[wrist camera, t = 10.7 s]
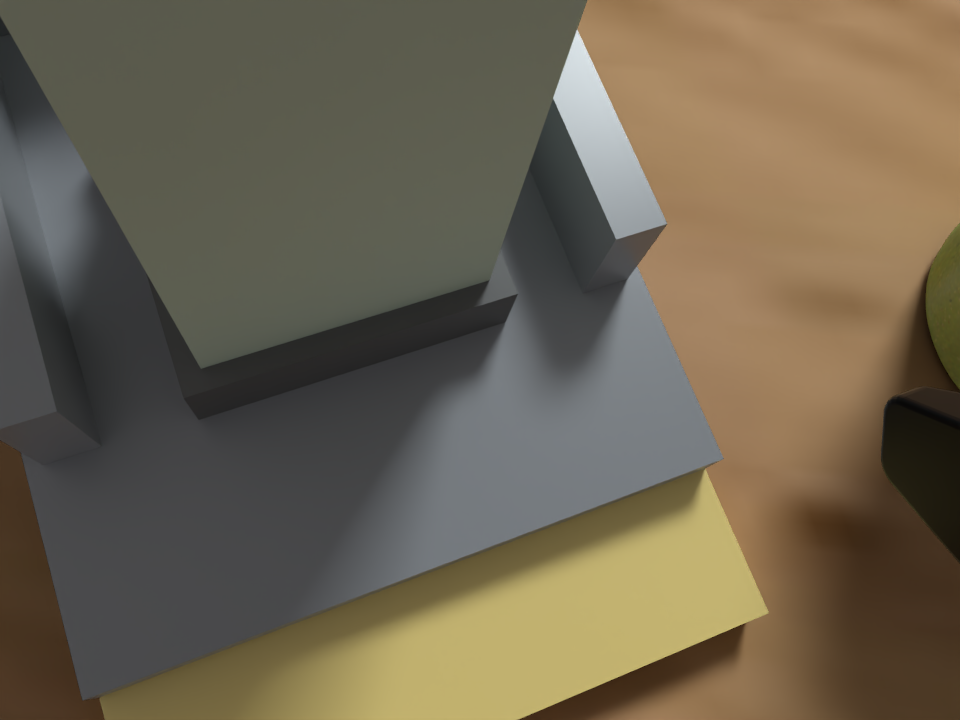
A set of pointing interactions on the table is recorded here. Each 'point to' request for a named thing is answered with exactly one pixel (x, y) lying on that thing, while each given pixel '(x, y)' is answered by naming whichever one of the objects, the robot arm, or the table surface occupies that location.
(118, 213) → the pale green tall block
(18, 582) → the table surface
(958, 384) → the plant pot
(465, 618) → the dock
